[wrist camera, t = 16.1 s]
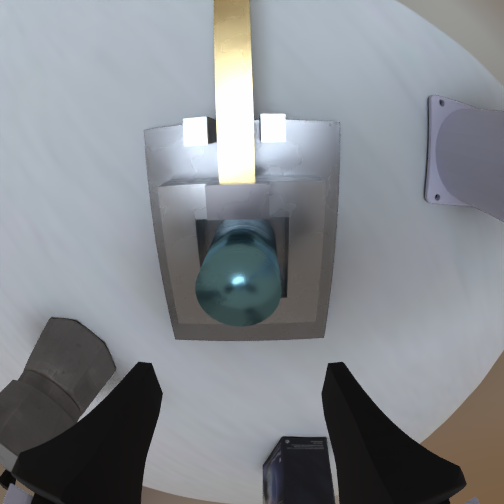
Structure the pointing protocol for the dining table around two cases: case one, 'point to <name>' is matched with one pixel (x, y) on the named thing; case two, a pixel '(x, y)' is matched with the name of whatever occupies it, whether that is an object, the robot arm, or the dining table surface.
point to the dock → (281, 219)
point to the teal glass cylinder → (240, 274)
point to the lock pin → (235, 120)
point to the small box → (298, 473)
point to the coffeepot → (51, 389)
